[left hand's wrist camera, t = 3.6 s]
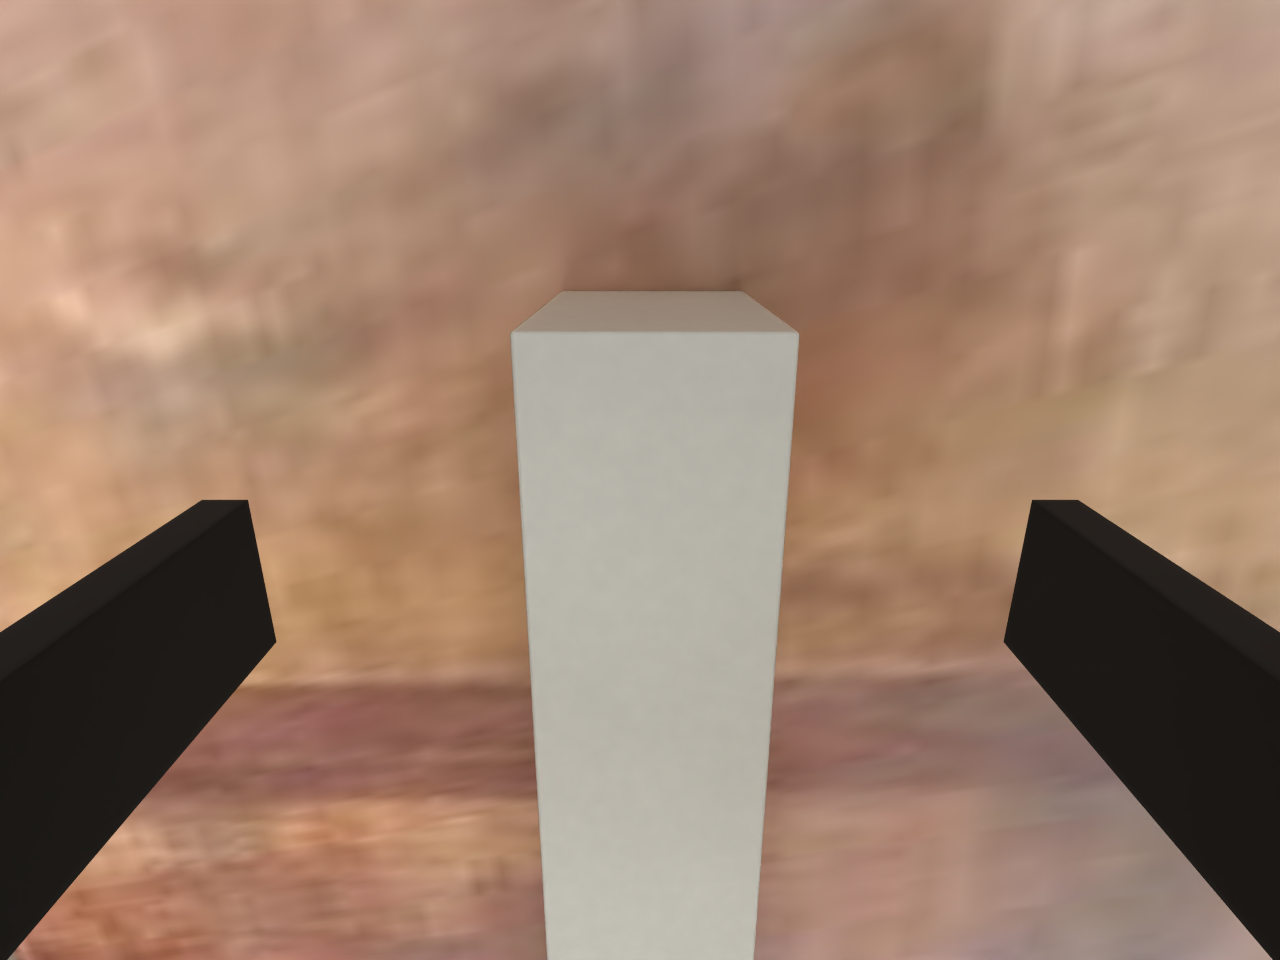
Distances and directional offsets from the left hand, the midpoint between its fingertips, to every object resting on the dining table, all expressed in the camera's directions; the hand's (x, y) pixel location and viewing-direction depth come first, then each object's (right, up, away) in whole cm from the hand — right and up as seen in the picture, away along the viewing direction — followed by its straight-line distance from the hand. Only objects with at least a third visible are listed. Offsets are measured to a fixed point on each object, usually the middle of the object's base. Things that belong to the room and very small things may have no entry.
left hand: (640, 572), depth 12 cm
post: (0, -29, +20) cm, 36 cm away
